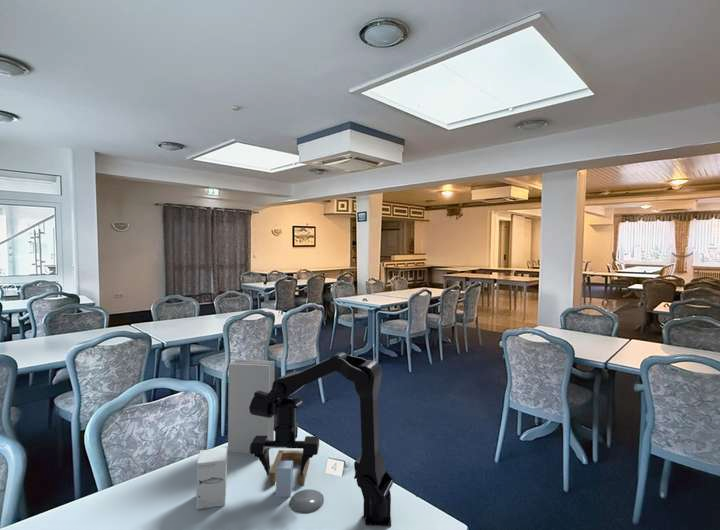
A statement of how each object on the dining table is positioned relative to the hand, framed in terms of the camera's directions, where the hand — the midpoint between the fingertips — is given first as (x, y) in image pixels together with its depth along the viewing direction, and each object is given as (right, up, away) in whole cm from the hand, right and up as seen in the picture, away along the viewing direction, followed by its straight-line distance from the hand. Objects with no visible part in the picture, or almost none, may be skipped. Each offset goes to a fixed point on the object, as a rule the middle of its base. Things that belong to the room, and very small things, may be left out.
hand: (284, 474), depth 110 cm
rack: (0, -5, +10) cm, 11 cm away
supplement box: (-19, -5, -4) cm, 20 cm away
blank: (0, -5, 0) cm, 5 cm away
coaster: (+7, -5, -4) cm, 9 cm away
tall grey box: (-16, -4, +24) cm, 29 cm away
